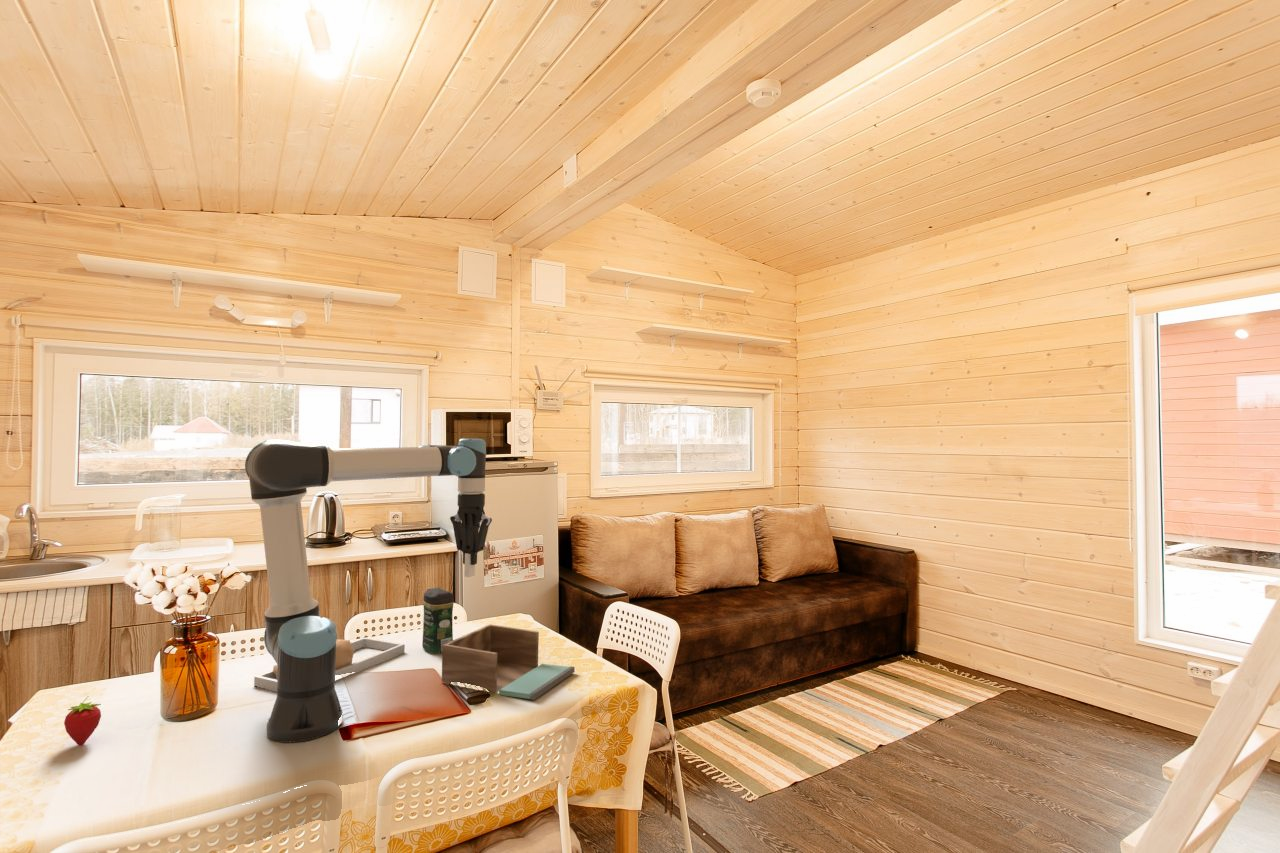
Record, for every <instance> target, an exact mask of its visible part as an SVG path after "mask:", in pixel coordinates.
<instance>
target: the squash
mask: <svg viewBox="0 0 1280 853" xmlns="http://www.w3.org/2000/svg"><path fill="white" fill-rule="evenodd" d="M350 642H351V641H350V639H339V638H337V641H336V663H335V670H338V669H340V668H343V667H345V666H348V665H350V664H353V663H352V662H353V658H354V652H355V650H353V647H352V645H351V643H350ZM272 670H273V673H274V675H275V676H276V680H277V673H278V666H277V664H276V665H273V668H272Z"/></svg>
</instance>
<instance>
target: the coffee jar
mask: <svg viewBox="0 0 1280 853" xmlns="http://www.w3.org/2000/svg"><path fill="white" fill-rule="evenodd" d="M423 593H424V594H423V601H422V602H423V625H422V626H423V628H422V648H423V649H424V650H425V651H426V652H428V653H430V654H442V646H443V645H444V644H446V643H448V642H451V641H453V640H454V639H453V638H454V637H453V636H454V634H453V608H454V604H455V602H454V601H455V600H454V593H453V592H451V591H449V590H446V589H443V588H441V587H433V588H427V589H426V590H425V591H424V592H423Z"/></svg>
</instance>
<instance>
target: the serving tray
mask: <svg viewBox="0 0 1280 853" xmlns="http://www.w3.org/2000/svg"><path fill="white" fill-rule="evenodd" d="M350 643H351V645H352V647H353V650H354V651H356V649H357V650H359V649H362V648H368V649H369V648H370V649H376V650H381V651H380V652H378V653H376V654H373V655H371V656H368V657H365V658H363V659H360V660H358V661H355V662H353V663H352V664H350V665H348V666H345V667H343V668H340V669H338V670H335V675H341V674H346V673H352V672H357V673H358V671H359V672H361V671H364V670H366V669H369V668H371V667H373V666H376V665H378V664H381V663H384V662H385V661H388V660H390V659H392V658H395V657H397V656H400V655H402V654H405V647H406V646H405V644H404V643H400V642H393V641H390V640H389V641H387V640H381V639H377V638H371V637H362V638H358V639H356V640H353V641H350ZM361 647H362V648H361ZM358 648H359V649H358ZM255 686H257V687H256V688H259V687H261V688H260V689H263V688H265V690H267V689H269V690H268V691H273V692H276V693H277V680H276V676H275V675H274V673H273V669H272V670H269V671H267V672H263V673H261V674H258V675H256V676H254V679H253V687H255Z"/></svg>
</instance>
